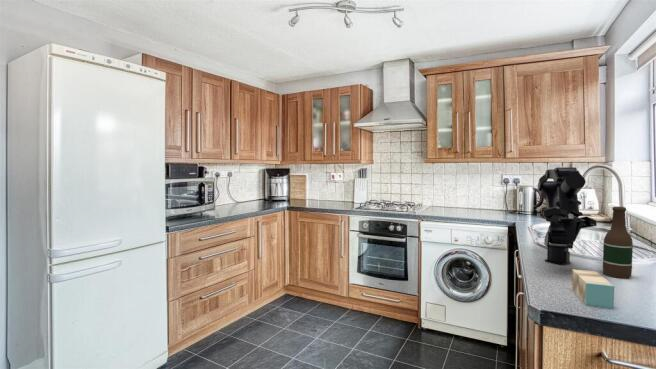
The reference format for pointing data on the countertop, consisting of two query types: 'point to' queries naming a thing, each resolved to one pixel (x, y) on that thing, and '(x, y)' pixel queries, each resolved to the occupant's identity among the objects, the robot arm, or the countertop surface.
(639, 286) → the countertop surface
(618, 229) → the beer bottle
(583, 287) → the pine block
